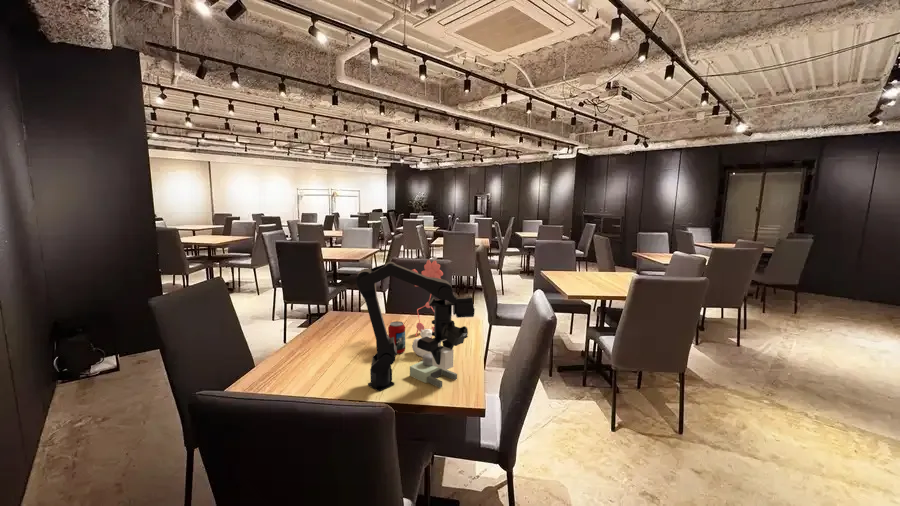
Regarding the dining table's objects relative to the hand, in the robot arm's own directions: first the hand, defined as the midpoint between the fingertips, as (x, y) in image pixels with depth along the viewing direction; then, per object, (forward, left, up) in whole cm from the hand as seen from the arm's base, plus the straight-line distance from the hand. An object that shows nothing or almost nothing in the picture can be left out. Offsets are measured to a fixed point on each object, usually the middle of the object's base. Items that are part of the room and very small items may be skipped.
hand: (442, 362), depth 128 cm
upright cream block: (0, 0, -1) cm, 1 cm away
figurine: (+30, +34, -7) cm, 46 cm away
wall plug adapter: (0, +4, -7) cm, 8 cm away
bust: (+12, +21, -7) cm, 25 cm away
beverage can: (+6, +31, -7) cm, 33 cm away
